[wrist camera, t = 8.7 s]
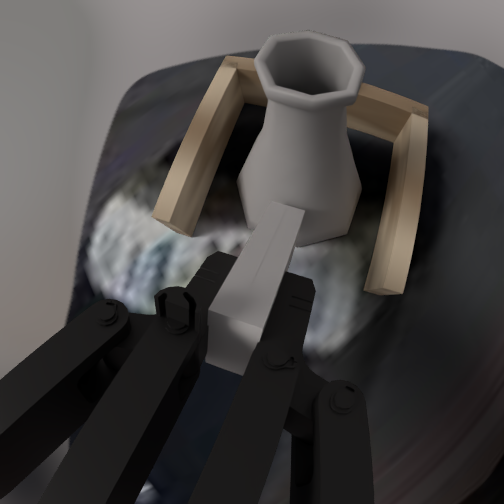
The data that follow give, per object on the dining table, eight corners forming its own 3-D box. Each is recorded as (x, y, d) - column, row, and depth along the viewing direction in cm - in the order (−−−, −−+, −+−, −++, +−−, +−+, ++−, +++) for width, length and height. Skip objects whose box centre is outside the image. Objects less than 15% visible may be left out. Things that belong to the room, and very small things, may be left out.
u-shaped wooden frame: (235, 88, 18) (224, 45, 14) (409, 134, 16) (433, 97, 12) (176, 232, 17) (144, 212, 13) (379, 295, 15) (409, 293, 11)
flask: (231, 244, 17) (159, 170, 7) (242, 130, 18) (206, 3, 8) (361, 252, 16) (453, 190, 6) (357, 137, 17) (402, 14, 7)
